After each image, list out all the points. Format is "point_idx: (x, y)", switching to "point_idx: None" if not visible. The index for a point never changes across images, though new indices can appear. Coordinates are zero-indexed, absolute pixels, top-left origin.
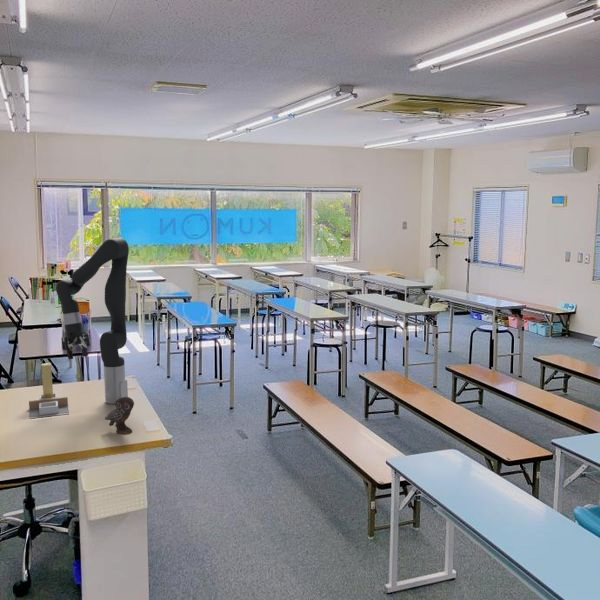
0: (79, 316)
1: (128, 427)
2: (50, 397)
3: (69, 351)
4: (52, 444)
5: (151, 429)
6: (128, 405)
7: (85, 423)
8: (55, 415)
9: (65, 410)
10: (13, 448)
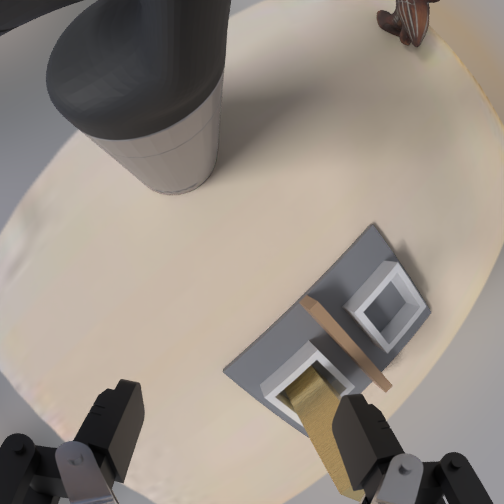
0: None
1: (385, 12)
2: (321, 376)
3: (399, 457)
4: (486, 135)
5: None
6: None
7: (401, 123)
8: (394, 257)
9: (360, 254)
10: None
